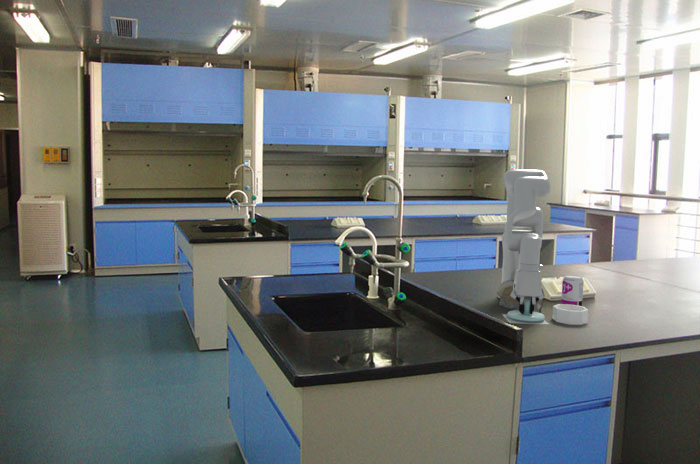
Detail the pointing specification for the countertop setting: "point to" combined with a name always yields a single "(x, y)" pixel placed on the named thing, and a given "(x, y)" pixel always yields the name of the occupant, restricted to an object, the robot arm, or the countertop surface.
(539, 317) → the lid
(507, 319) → the mat
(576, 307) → the bowl
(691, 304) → the countertop surface
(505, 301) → the fossil rock
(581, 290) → the supplement can
